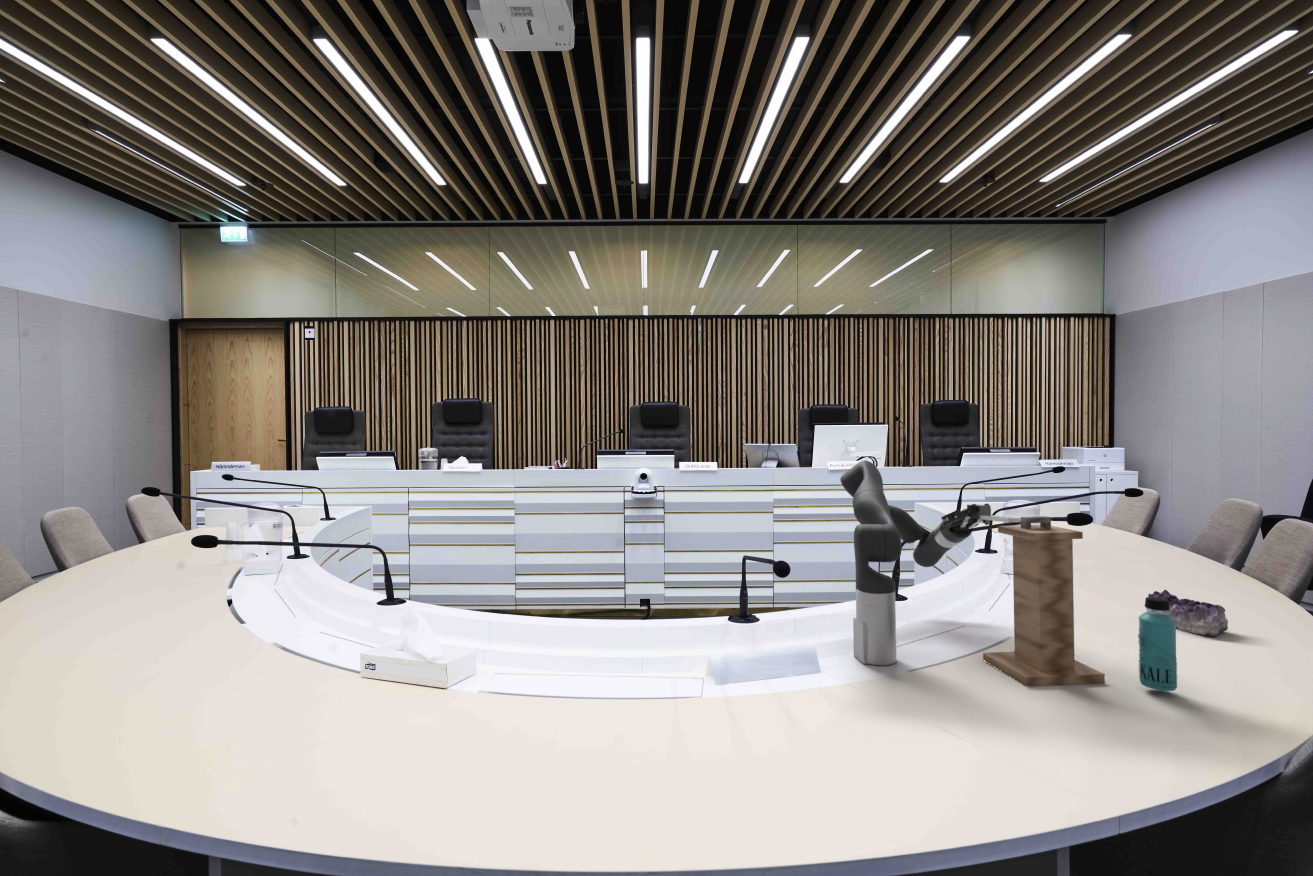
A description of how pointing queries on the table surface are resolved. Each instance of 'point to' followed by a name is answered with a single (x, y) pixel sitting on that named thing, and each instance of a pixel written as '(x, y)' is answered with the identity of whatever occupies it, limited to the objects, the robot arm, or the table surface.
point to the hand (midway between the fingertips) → (982, 507)
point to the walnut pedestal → (1043, 608)
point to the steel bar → (985, 514)
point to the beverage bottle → (1157, 647)
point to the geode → (1194, 615)
